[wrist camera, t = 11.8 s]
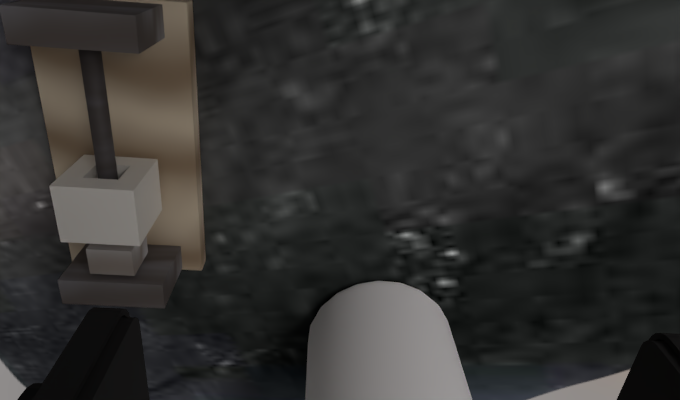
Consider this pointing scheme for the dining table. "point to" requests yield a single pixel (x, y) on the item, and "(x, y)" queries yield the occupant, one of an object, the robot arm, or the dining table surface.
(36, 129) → the dining table surface
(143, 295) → the small bench vise
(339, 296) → the can
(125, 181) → the sleeve
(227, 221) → the dining table surface
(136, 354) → the robot arm
